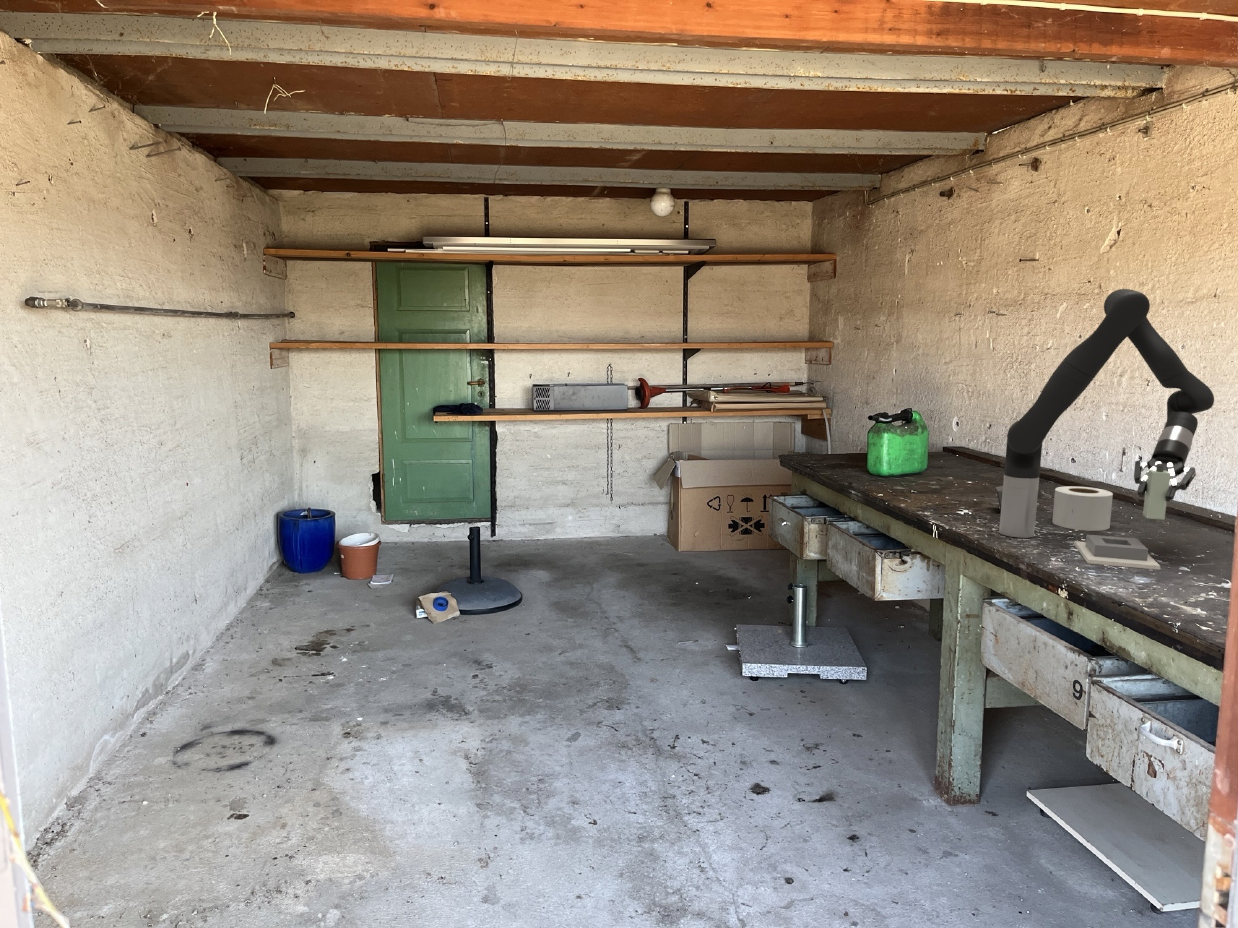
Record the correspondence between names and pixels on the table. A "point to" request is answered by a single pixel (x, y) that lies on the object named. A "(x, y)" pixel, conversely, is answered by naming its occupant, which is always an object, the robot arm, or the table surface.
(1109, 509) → the roll of tape
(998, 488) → the electrical switch
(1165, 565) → the table surface
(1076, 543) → the plate
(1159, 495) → the plug
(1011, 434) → the robot arm
